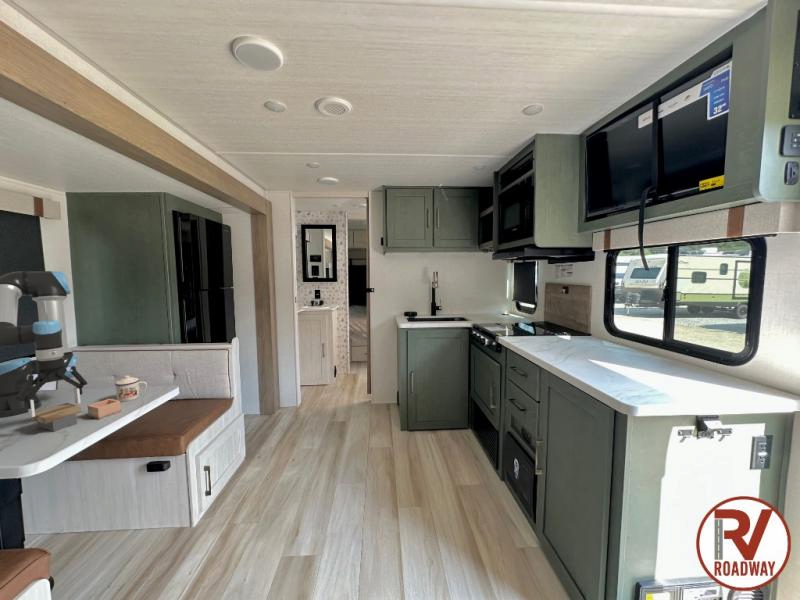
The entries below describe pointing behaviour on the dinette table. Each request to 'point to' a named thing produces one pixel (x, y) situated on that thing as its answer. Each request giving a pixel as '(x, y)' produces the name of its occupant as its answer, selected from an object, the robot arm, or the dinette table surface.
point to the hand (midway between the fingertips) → (56, 409)
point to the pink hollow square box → (104, 408)
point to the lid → (56, 413)
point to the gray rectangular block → (59, 423)
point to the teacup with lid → (128, 388)
